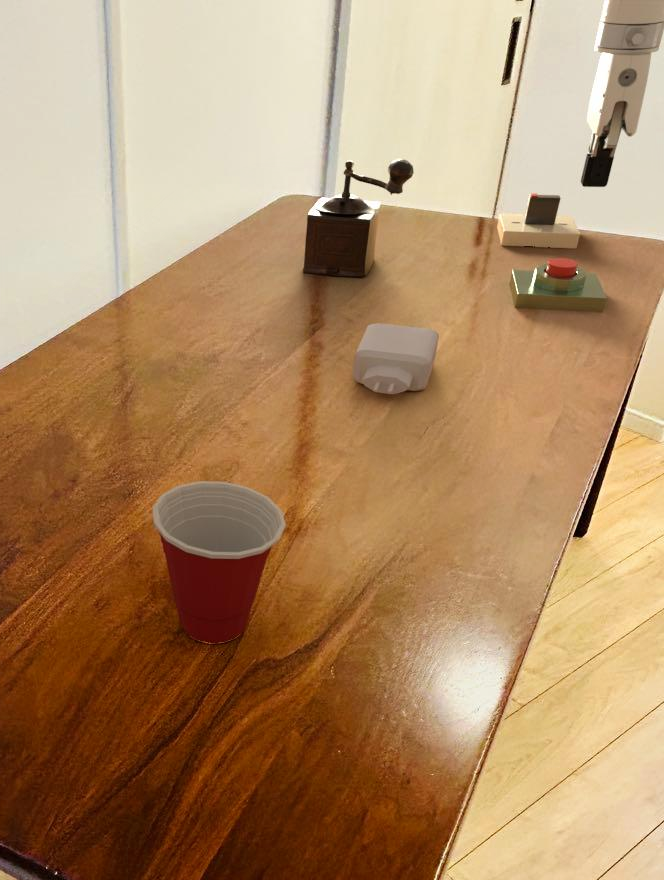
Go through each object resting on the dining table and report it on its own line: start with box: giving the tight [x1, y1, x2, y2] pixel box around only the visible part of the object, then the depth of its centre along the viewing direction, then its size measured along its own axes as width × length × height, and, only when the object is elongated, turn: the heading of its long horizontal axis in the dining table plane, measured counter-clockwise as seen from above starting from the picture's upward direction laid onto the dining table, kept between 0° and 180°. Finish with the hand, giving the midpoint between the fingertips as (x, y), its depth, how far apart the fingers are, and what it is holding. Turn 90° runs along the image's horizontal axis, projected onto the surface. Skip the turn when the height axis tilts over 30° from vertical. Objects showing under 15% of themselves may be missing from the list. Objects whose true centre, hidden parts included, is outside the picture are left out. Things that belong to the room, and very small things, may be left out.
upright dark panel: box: [524, 192, 562, 225], centre depth 155 cm, size 5×2×5 cm, turn 76°
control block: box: [508, 263, 608, 314], centre depth 135 cm, size 12×10×4 cm
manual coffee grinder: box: [302, 158, 415, 278], centre depth 144 cm, size 16×11×18 cm
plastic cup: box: [152, 480, 287, 643], centre depth 76 cm, size 11×11×12 cm
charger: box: [351, 322, 440, 395], centre depth 114 cm, size 5×9×15 cm
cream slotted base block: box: [496, 213, 581, 250], centre depth 157 cm, size 12×10×3 cm
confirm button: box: [546, 257, 579, 277], centre depth 133 cm, size 4×4×2 cm
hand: (593, 184), depth 127 cm, fingers closed
